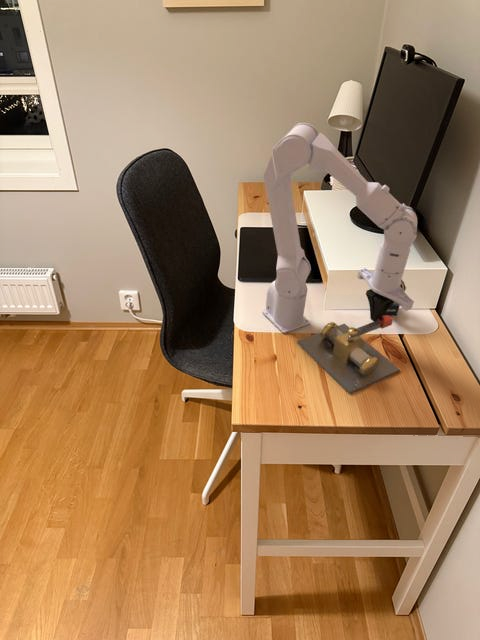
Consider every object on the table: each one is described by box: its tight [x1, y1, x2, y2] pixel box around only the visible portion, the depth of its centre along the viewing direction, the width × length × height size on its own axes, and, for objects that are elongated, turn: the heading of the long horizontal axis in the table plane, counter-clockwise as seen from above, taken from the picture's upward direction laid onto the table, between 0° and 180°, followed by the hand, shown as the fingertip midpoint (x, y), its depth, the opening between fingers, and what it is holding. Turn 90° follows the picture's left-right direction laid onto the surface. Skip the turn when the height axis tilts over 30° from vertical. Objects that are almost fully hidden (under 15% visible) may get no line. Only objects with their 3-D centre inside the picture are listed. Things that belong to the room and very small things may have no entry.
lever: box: [348, 315, 394, 342], centre depth 98 cm, size 12×2×2 cm, turn 120°
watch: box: [383, 278, 407, 317], centre depth 111 cm, size 6×8×11 cm
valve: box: [296, 321, 401, 395], centre depth 99 cm, size 18×14×5 cm
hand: (375, 319), depth 102 cm, fingers closed
